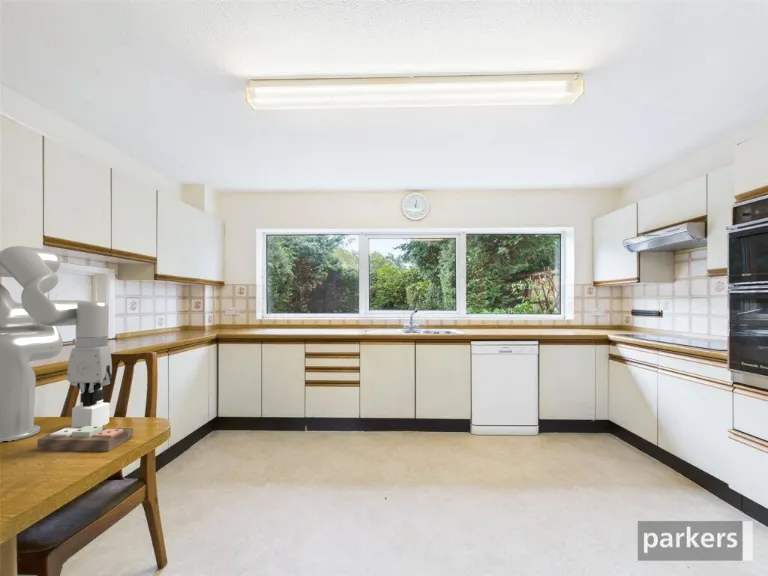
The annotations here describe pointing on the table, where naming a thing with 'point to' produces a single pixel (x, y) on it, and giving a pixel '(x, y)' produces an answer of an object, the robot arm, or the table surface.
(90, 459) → the table surface
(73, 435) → the button two sage
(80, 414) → the medicine bottle
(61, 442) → the button board
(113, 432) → the button three terracotta
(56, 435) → the button one cream
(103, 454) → the table surface
